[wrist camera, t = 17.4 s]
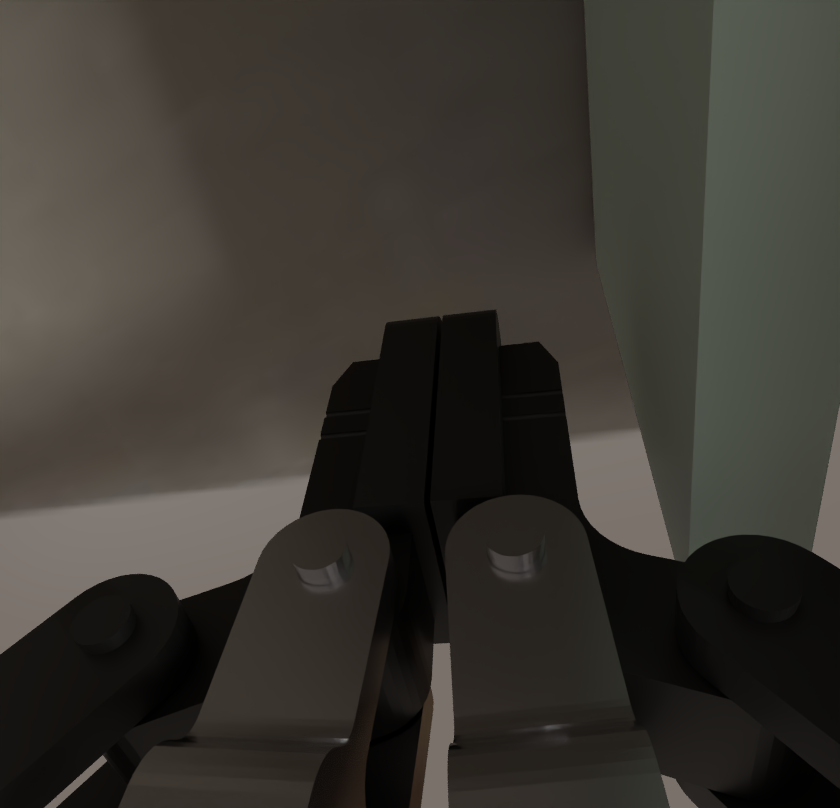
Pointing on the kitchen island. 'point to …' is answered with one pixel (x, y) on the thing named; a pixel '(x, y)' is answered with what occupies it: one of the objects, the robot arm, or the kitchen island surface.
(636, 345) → the drawer
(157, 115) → the kitchen island surface
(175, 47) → the kitchen island surface
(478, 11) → the kitchen island surface
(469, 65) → the kitchen island surface
